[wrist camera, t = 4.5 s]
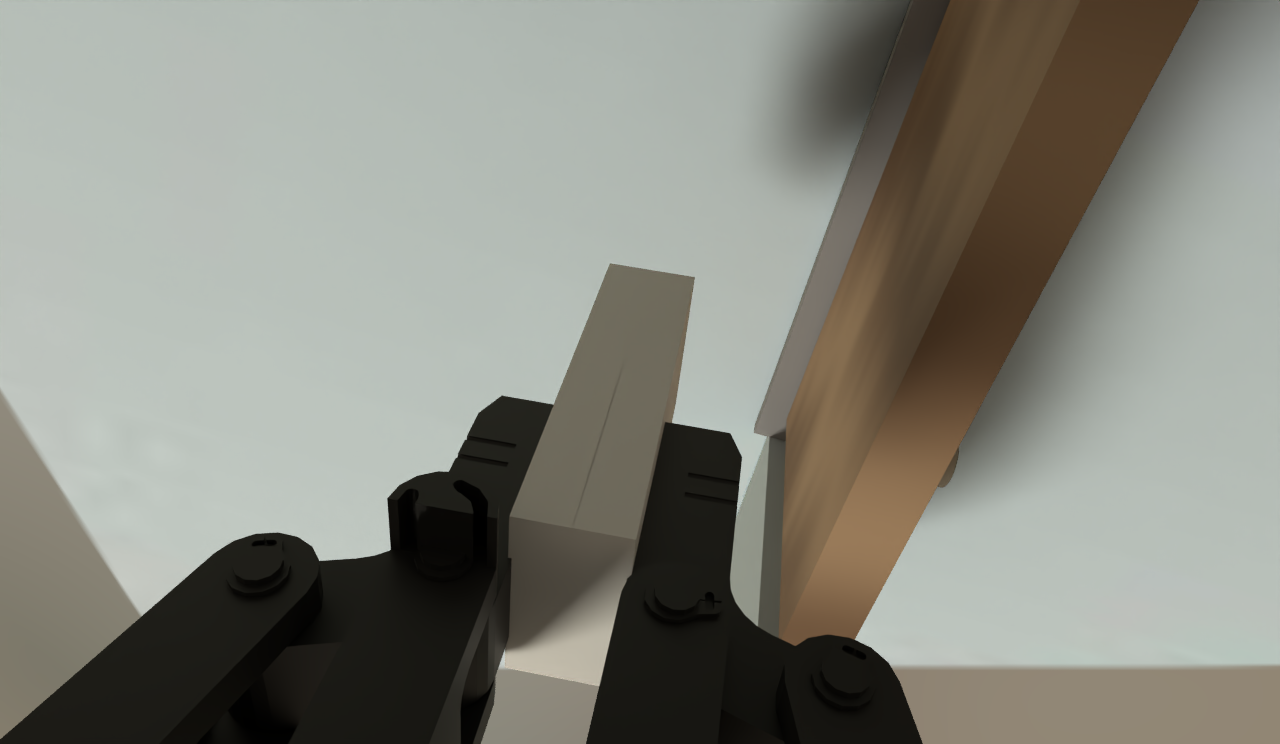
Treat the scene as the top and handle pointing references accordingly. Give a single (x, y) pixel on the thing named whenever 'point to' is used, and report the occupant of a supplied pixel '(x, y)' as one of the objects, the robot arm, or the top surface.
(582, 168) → the top surface
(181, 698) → the robot arm
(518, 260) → the top surface
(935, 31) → the wall
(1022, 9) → the door
